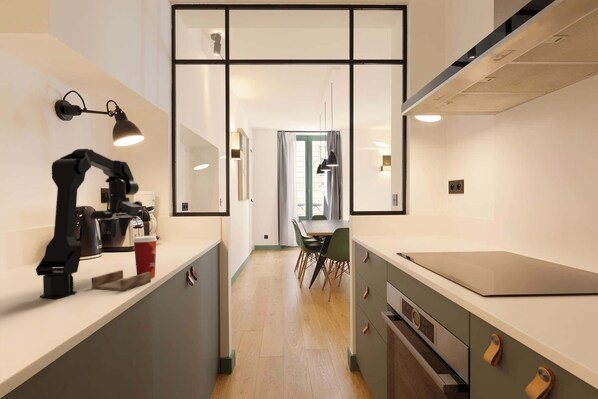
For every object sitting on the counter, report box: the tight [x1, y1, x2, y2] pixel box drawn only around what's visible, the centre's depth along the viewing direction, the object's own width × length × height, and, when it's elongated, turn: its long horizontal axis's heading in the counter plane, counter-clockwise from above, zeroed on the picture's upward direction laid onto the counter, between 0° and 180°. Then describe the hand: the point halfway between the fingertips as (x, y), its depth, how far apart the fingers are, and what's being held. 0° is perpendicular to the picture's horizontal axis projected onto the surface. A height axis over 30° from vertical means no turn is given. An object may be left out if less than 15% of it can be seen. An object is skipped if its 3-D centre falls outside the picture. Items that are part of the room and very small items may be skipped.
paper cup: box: [132, 235, 158, 279], centre depth 120 cm, size 8×8×14 cm
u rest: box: [91, 269, 152, 292], centre depth 110 cm, size 11×12×3 cm
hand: (118, 236), depth 131 cm, fingers open, 4 cm apart
